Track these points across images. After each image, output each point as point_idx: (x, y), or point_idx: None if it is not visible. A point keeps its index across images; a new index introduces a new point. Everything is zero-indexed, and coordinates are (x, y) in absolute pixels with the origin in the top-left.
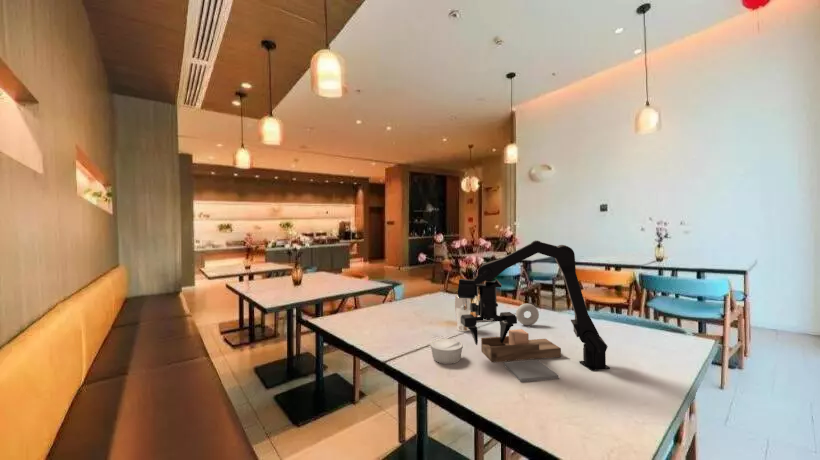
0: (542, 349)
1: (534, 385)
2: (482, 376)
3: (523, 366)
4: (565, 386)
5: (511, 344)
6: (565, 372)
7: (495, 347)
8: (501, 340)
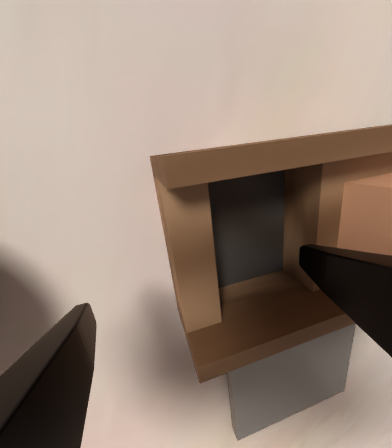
0: None
1: (260, 430)
2: (111, 433)
3: (284, 360)
4: (324, 411)
5: (348, 223)
6: (372, 342)
7: (227, 371)
8: (313, 274)
